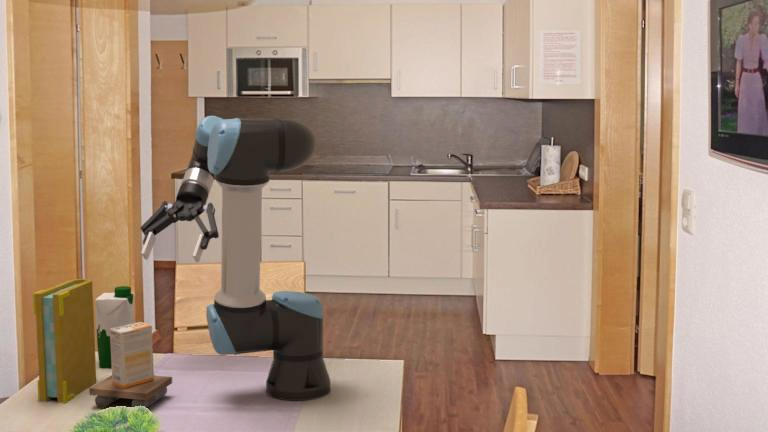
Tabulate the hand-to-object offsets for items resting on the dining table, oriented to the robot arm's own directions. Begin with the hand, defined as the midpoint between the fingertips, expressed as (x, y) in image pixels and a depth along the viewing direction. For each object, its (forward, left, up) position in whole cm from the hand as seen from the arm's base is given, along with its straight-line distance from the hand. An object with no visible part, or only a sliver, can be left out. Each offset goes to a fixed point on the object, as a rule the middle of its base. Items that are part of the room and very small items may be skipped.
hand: (169, 257), depth 226 cm
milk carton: (+18, -5, -30) cm, 35 cm away
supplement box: (0, +20, -25) cm, 32 cm away
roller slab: (0, +20, -29) cm, 36 cm away
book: (+18, +17, -30) cm, 38 cm away
